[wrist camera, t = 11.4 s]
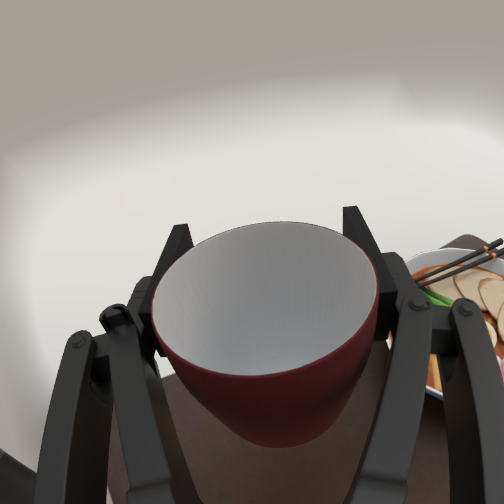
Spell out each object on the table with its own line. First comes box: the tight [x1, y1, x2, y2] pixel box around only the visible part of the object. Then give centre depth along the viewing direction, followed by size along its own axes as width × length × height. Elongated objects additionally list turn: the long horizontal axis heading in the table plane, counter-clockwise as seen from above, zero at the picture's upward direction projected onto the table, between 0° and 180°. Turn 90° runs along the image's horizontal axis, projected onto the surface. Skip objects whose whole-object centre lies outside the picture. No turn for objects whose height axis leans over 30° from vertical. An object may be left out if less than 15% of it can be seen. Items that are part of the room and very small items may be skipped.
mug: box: [151, 222, 379, 448], centre depth 15 cm, size 11×8×10 cm
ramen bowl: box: [386, 238, 504, 401], centre depth 28 cm, size 25×23×8 cm
